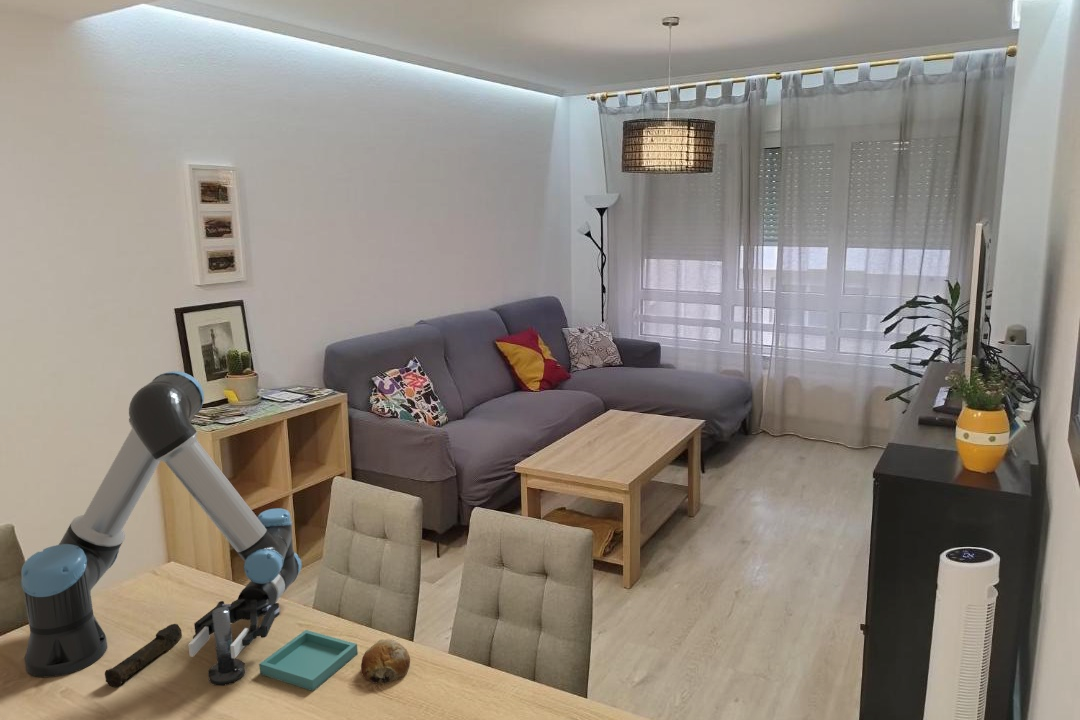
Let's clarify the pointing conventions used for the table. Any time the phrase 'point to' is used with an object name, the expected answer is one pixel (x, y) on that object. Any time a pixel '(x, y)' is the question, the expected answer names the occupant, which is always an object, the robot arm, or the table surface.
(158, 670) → the table surface
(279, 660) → the tray
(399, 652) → the bread roll
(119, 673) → the hand tool
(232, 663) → the joystick
